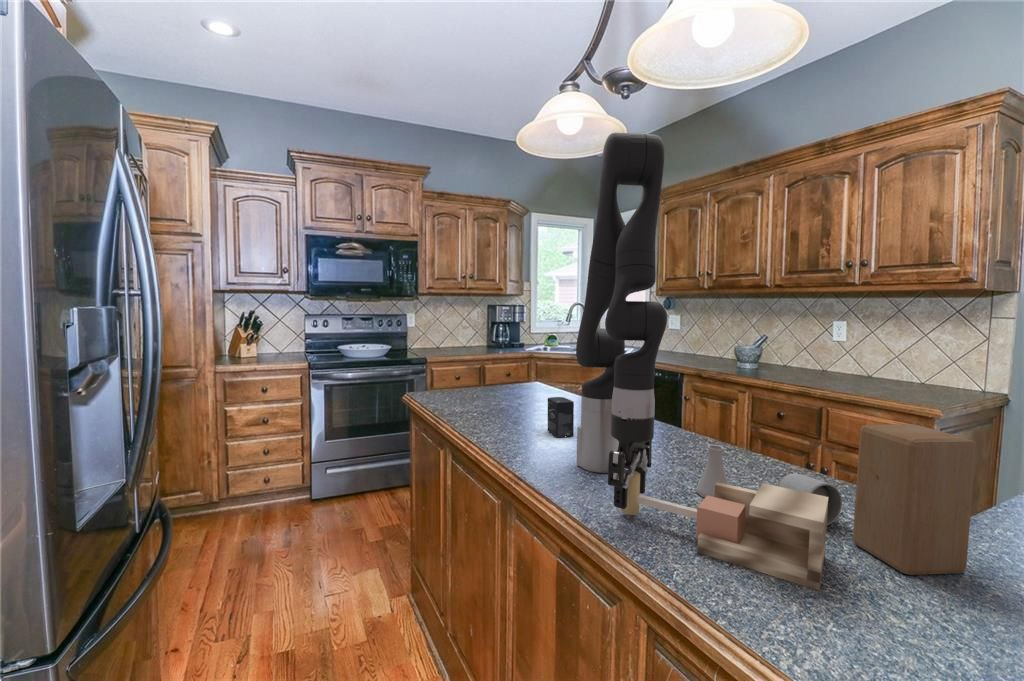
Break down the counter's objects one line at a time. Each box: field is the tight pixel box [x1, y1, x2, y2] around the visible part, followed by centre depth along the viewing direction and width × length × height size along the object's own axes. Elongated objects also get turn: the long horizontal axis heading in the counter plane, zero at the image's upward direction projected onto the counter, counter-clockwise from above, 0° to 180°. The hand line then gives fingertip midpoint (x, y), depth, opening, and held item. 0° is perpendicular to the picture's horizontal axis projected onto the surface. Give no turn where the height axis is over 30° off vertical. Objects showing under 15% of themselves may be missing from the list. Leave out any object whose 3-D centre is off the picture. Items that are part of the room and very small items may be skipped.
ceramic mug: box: [777, 473, 843, 526], centre depth 86 cm, size 11×8×8 cm
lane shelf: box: [696, 482, 828, 591], centre depth 72 cm, size 16×11×10 cm
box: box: [547, 396, 575, 438], centre depth 141 cm, size 8×6×11 cm
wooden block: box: [852, 423, 977, 576], centre depth 71 cm, size 10×10×20 cm
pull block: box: [620, 471, 746, 544], centre depth 80 cm, size 20×6×7 cm, turn 53°
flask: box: [694, 444, 730, 498], centre depth 96 cm, size 7×7×10 cm
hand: (629, 499), depth 85 cm, fingers open, 8 cm apart
